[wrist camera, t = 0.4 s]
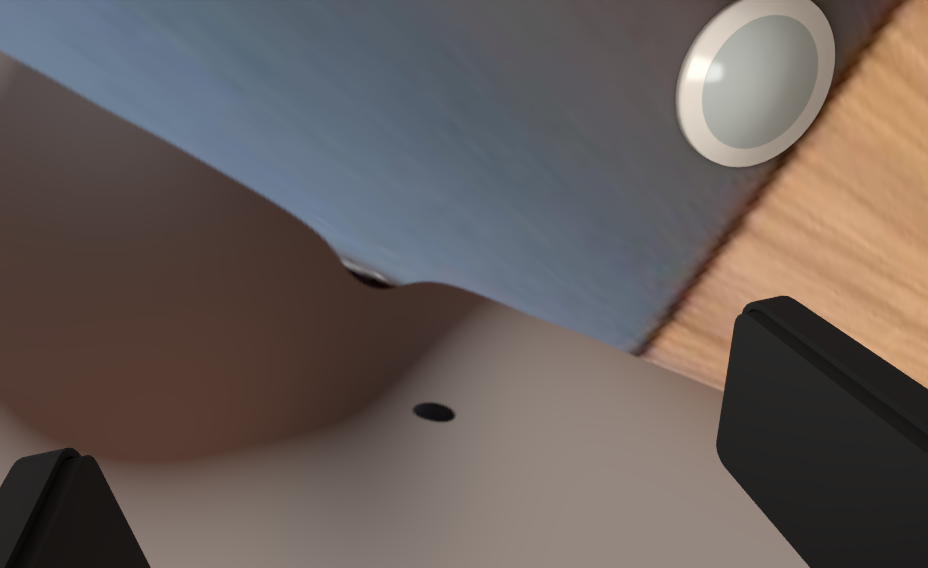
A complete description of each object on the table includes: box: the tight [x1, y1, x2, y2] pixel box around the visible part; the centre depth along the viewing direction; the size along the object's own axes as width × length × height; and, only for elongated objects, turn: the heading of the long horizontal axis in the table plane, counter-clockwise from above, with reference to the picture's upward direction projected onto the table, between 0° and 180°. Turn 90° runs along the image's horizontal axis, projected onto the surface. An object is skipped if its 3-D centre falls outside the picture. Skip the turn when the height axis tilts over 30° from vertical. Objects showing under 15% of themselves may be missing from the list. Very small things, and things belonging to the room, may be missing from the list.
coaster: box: [675, 0, 835, 167], centre depth 40 cm, size 11×11×1 cm
